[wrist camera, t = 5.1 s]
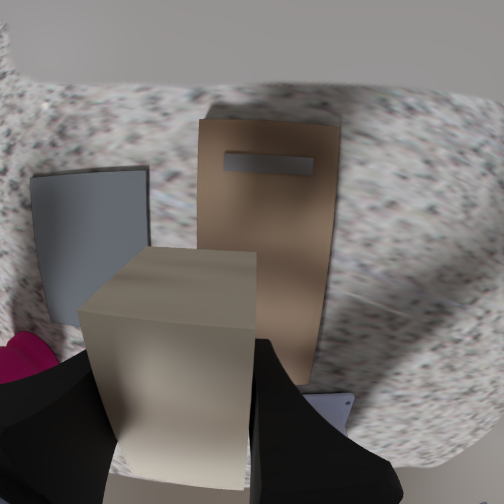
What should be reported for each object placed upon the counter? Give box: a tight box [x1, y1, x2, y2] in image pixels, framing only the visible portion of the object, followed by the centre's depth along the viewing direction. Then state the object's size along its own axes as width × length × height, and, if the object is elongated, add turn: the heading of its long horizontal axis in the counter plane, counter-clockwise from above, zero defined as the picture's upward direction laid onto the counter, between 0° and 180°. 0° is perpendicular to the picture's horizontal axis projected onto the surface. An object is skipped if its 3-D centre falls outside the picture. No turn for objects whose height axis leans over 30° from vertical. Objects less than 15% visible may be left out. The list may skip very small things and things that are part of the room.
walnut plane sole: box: [197, 119, 340, 385], centre depth 19 cm, size 18×8×1 cm, turn 178°
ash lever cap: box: [77, 246, 256, 490], centre depth 9 cm, size 7×4×5 cm, turn 177°
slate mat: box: [30, 170, 149, 327], centre depth 20 cm, size 12×10×1 cm
